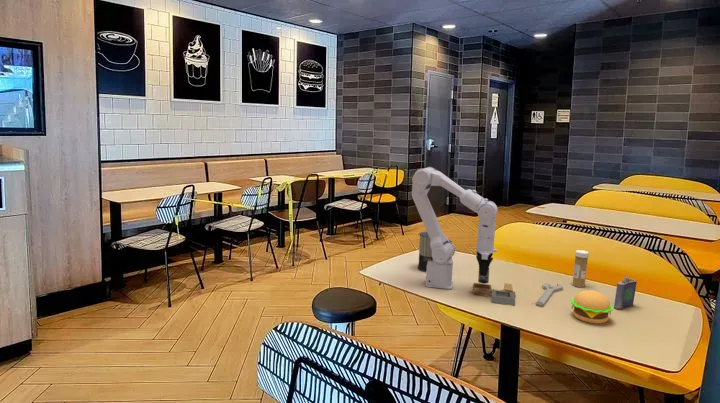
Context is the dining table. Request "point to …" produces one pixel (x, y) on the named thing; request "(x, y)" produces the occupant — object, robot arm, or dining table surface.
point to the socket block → (503, 297)
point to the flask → (625, 293)
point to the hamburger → (591, 307)
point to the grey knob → (483, 278)
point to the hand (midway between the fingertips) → (483, 273)
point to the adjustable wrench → (547, 293)
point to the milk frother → (424, 251)
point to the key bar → (508, 287)
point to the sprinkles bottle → (580, 268)
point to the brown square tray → (481, 289)
